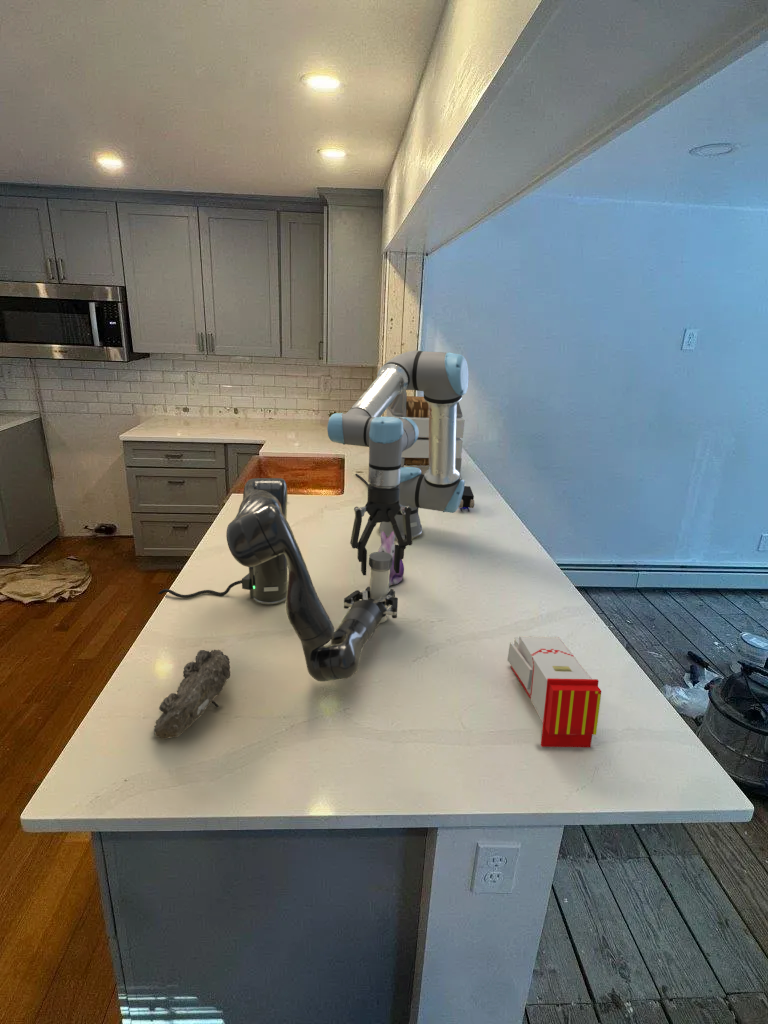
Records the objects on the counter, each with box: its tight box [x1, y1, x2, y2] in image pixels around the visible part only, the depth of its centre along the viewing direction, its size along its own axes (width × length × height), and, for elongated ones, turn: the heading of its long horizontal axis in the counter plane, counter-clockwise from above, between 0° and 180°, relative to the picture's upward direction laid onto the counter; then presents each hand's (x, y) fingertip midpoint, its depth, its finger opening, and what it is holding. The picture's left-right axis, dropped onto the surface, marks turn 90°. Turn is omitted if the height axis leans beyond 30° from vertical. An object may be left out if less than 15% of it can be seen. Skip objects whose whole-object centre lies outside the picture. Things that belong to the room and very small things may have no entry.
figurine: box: [377, 531, 405, 587], centre depth 163 cm, size 9×10×15 cm
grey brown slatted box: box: [385, 390, 465, 479], centre depth 268 cm, size 34×33×41 cm
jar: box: [369, 567, 390, 624], centre depth 142 cm, size 5×5×16 cm
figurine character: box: [458, 485, 475, 513], centre depth 228 cm, size 7×8×15 cm
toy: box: [507, 635, 602, 748], centre depth 115 cm, size 12×13×30 cm
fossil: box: [153, 649, 231, 740], centre depth 109 cm, size 22×10×15 cm
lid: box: [368, 551, 392, 570], centre depth 140 cm, size 6×6×2 cm
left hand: (382, 590), depth 145 cm, fingers closed on jar, 4 cm apart
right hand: (380, 571), depth 141 cm, fingers open, 8 cm apart
